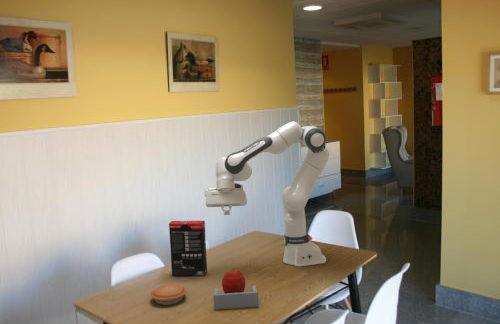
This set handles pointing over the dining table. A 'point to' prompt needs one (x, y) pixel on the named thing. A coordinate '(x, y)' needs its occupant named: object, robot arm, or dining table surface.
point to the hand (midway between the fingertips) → (227, 214)
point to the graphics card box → (188, 248)
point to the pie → (168, 294)
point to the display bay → (236, 299)
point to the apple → (233, 282)
